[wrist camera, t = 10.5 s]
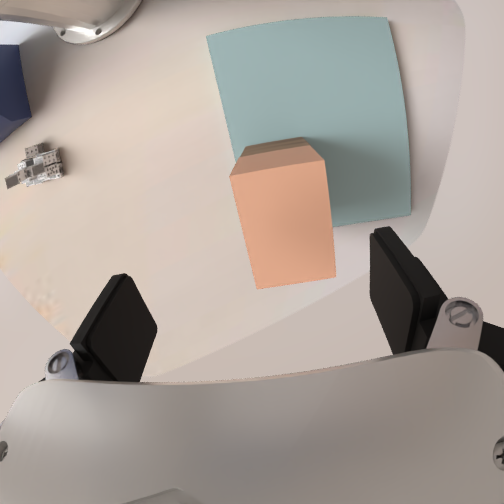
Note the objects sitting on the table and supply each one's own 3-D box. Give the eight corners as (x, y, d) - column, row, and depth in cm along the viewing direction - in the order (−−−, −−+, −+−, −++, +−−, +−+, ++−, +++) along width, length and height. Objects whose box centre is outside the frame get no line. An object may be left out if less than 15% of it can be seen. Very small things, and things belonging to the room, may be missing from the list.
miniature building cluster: (65, 106, 26) (23, 114, 19) (76, 173, 30) (37, 194, 23) (20, 125, 27) (-19, 137, 20) (31, 184, 31) (-5, 205, 24)
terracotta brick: (238, 157, 22) (229, 176, 16) (309, 145, 21) (324, 159, 16) (259, 248, 25) (256, 289, 20) (322, 237, 25) (336, 277, 19)
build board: (208, 38, 23) (205, 36, 22) (382, 20, 20) (386, 17, 19) (254, 235, 33) (253, 239, 32) (406, 211, 30) (410, 215, 29)
